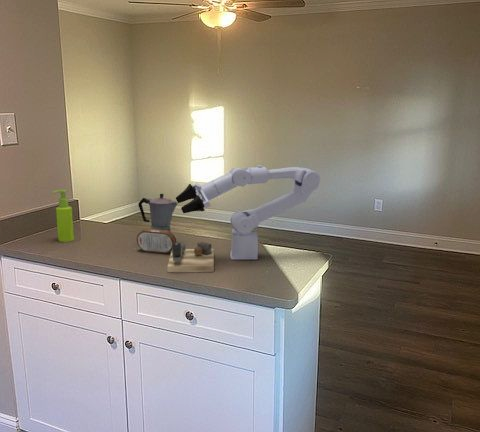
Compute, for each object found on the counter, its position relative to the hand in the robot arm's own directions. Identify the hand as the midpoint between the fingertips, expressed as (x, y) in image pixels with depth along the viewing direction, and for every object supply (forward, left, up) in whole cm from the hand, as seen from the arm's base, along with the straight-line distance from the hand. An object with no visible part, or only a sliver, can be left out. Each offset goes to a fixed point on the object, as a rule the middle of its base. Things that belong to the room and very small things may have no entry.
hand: (179, 205), depth 168 cm
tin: (+9, -10, -20) cm, 24 cm away
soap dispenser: (+47, -27, -20) cm, 58 cm away
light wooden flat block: (-4, +3, -20) cm, 20 cm away
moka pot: (+9, -20, -20) cm, 30 cm away
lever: (0, +3, -17) cm, 18 cm away
